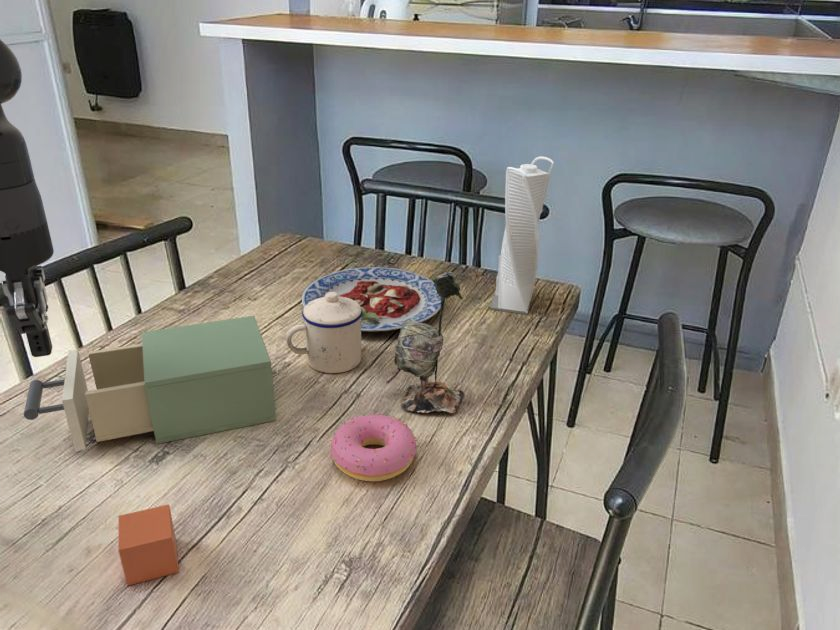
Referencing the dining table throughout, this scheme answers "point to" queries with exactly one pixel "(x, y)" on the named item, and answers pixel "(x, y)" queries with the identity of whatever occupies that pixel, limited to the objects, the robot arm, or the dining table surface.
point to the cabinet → (207, 378)
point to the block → (147, 544)
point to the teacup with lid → (330, 333)
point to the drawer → (100, 395)
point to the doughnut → (373, 461)
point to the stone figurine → (426, 357)
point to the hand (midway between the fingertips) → (42, 353)
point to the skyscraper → (520, 237)
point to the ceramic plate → (380, 295)
